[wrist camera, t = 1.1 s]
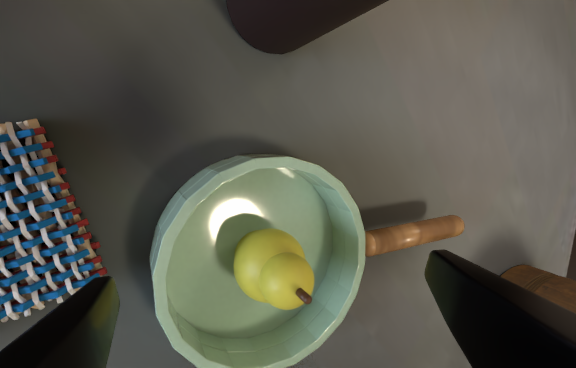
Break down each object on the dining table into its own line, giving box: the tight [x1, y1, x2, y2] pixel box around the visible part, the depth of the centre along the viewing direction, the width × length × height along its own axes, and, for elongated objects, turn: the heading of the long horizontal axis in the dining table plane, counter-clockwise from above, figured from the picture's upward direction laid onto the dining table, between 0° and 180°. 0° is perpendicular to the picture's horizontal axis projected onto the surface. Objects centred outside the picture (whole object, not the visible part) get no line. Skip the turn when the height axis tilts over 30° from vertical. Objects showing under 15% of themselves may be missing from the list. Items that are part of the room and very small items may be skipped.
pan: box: [149, 154, 365, 368], centre depth 23 cm, size 15×15×4 cm
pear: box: [234, 228, 314, 310], centre depth 21 cm, size 5×5×8 cm
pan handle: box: [365, 215, 464, 257], centre depth 28 cm, size 2×12×2 cm, turn 91°
